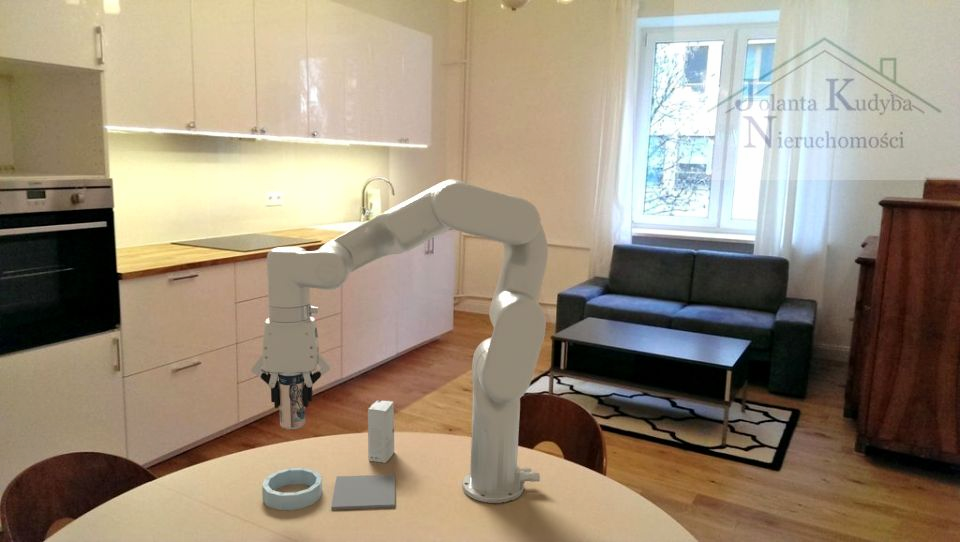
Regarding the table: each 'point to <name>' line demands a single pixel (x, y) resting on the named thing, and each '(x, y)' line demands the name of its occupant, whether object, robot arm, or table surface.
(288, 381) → the beer can
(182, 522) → the table surface
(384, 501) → the mat
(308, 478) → the light blue ring
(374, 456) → the skincare box
